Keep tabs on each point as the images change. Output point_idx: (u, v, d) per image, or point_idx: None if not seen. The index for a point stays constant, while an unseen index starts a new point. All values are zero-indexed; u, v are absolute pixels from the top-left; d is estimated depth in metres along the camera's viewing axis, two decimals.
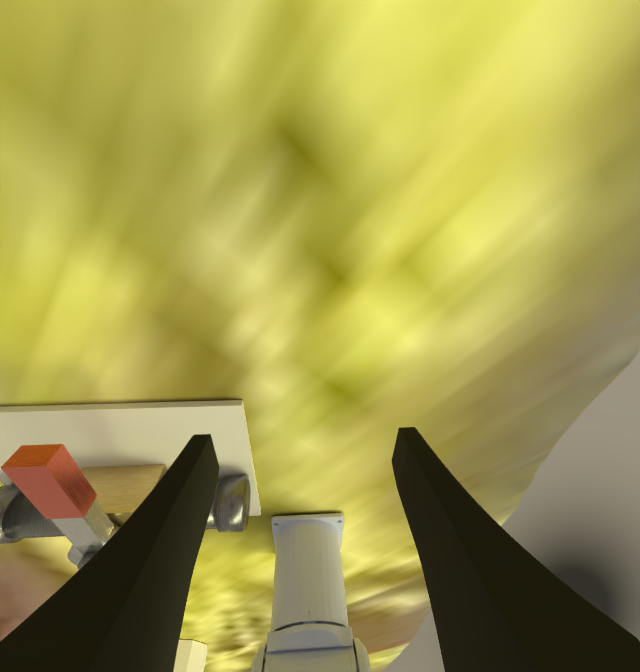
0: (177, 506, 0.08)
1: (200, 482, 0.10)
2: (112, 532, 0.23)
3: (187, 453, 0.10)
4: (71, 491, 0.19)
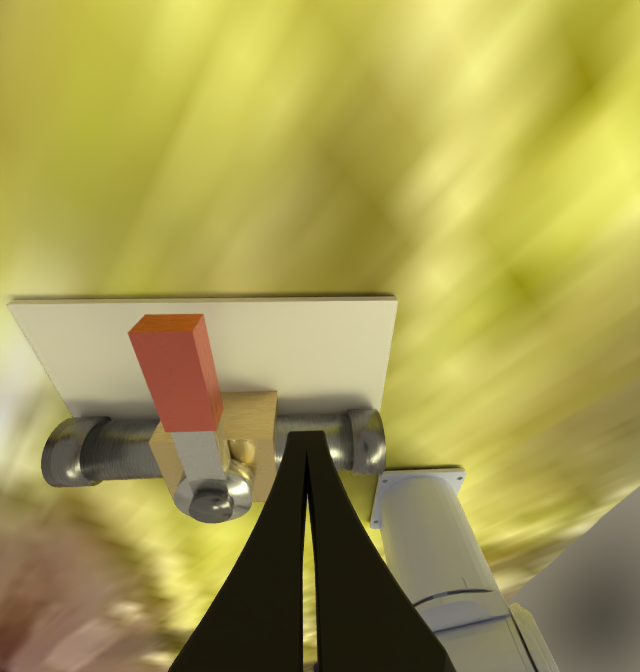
0: (302, 500, 0.09)
1: (305, 478, 0.10)
2: (230, 465, 0.17)
3: (293, 449, 0.10)
4: (209, 387, 0.13)
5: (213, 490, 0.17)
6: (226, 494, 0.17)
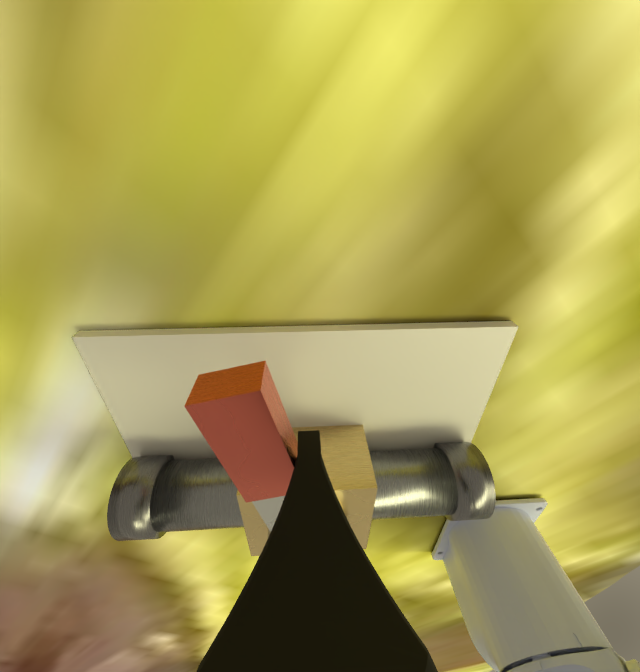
0: None
1: None
2: None
3: (307, 449, 0.10)
4: (288, 445, 0.11)
5: None
6: None
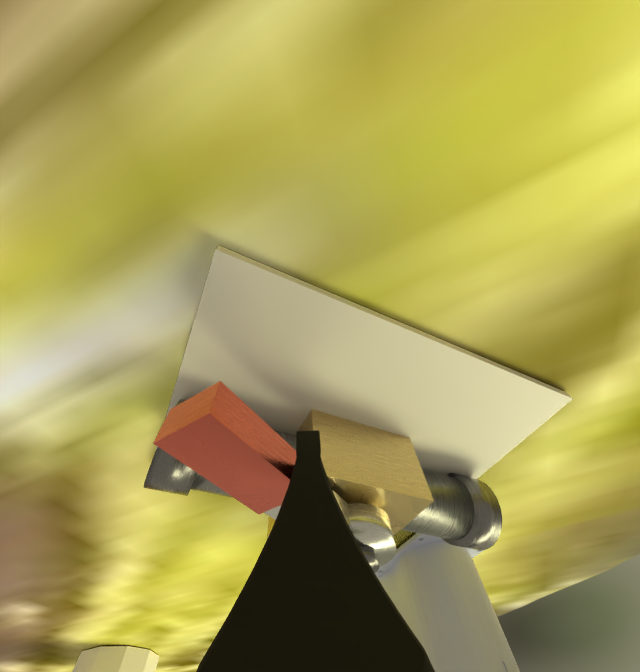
0: None
1: None
2: (350, 512, 0.15)
3: (307, 449, 0.10)
4: (270, 454, 0.11)
5: None
6: (361, 546, 0.14)
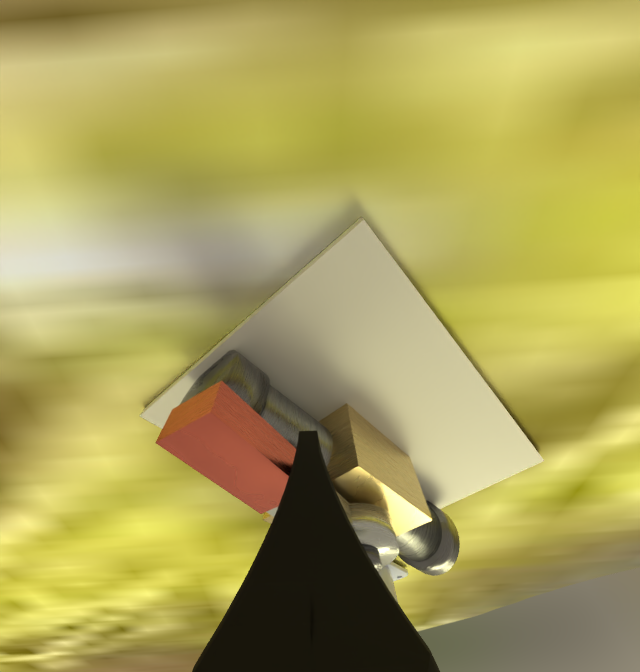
0: None
1: None
2: (353, 512, 0.15)
3: (305, 449, 0.10)
4: (271, 454, 0.11)
5: None
6: (363, 545, 0.14)
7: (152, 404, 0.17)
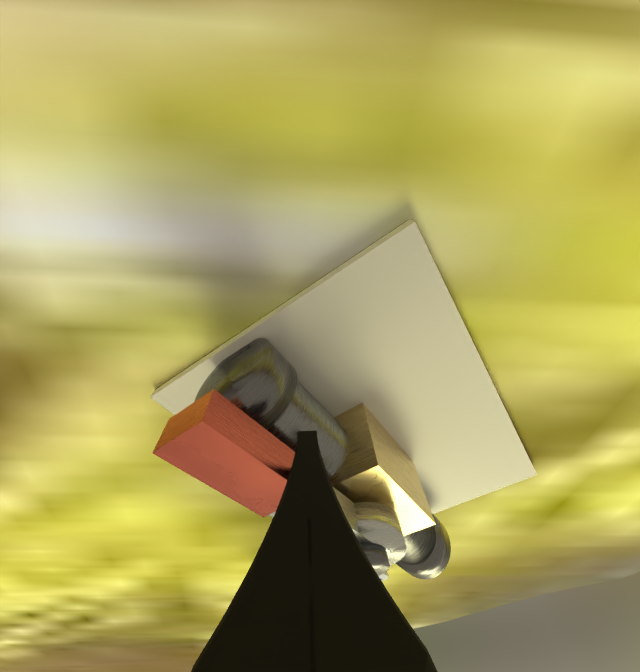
0: None
1: None
2: (357, 511, 0.15)
3: (305, 449, 0.10)
4: (267, 458, 0.11)
5: None
6: (370, 544, 0.14)
7: (165, 386, 0.16)
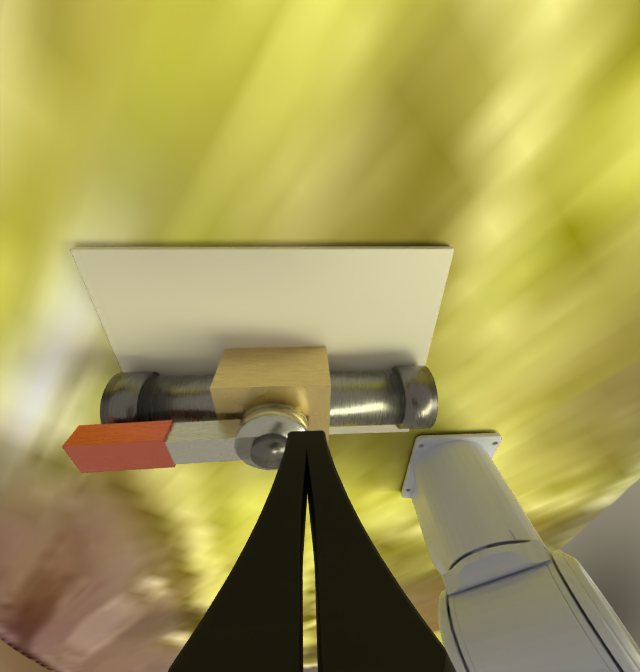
0: (302, 500, 0.09)
1: (305, 478, 0.10)
2: (239, 423, 0.18)
3: (293, 449, 0.10)
4: (120, 438, 0.17)
5: (250, 447, 0.17)
6: (256, 439, 0.17)
7: None
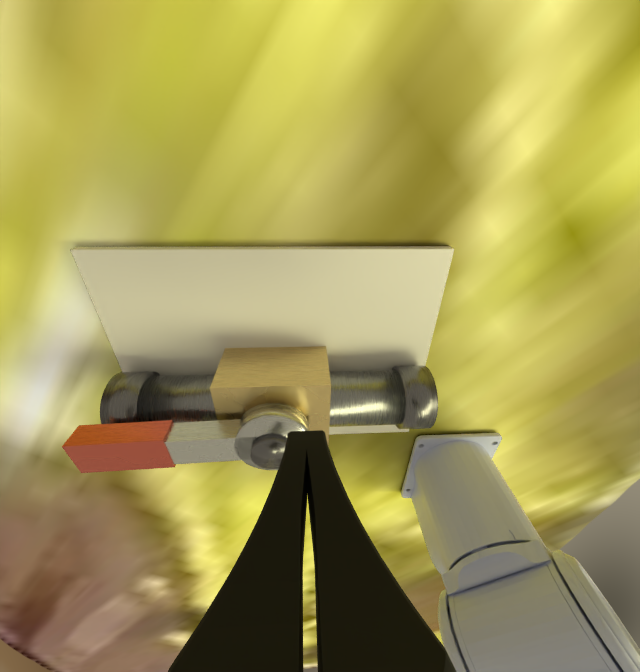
0: (302, 500, 0.09)
1: (305, 478, 0.10)
2: (239, 423, 0.18)
3: (293, 449, 0.10)
4: (120, 438, 0.17)
5: (250, 447, 0.17)
6: (256, 439, 0.17)
7: None
